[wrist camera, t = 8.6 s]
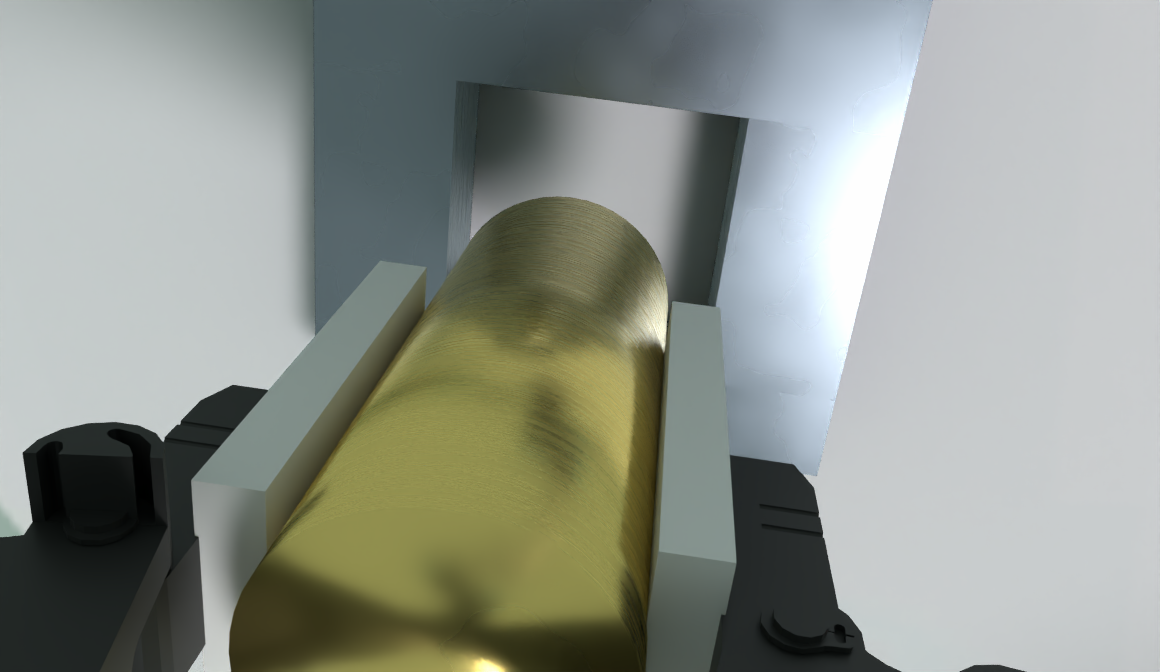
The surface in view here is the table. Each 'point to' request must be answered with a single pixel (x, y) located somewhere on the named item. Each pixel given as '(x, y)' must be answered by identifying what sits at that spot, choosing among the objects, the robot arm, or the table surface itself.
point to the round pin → (488, 473)
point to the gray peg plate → (649, 77)
